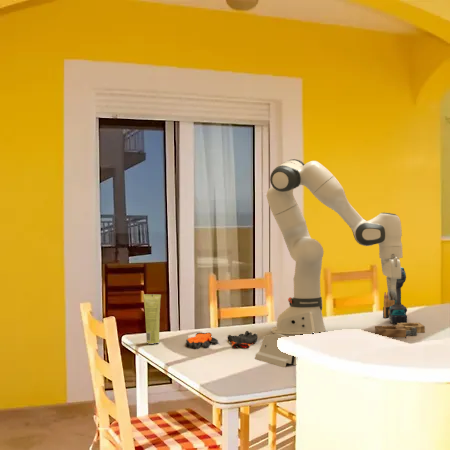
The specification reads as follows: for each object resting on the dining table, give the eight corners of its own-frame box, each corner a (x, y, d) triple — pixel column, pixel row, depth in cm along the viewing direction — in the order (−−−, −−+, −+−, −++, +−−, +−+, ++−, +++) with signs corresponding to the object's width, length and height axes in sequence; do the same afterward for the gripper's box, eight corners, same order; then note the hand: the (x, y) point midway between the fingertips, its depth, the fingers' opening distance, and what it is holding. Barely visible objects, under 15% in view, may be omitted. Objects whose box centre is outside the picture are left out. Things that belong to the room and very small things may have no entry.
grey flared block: (254, 358, 213) (261, 329, 215) (264, 361, 215) (271, 332, 217) (284, 367, 199) (292, 336, 201) (295, 370, 201) (302, 339, 203)
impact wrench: (401, 318, 285) (399, 263, 285) (411, 326, 263) (409, 267, 262) (384, 318, 286) (382, 264, 286) (392, 326, 263) (390, 267, 263)
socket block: (379, 338, 240) (379, 330, 240) (375, 333, 250) (374, 326, 250) (406, 337, 240) (405, 329, 240) (400, 332, 250) (400, 325, 249)
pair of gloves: (181, 350, 233) (180, 341, 233) (193, 337, 257) (193, 329, 257) (254, 349, 229) (253, 340, 229) (259, 337, 253) (259, 328, 253)
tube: (158, 341, 248) (156, 293, 248) (162, 344, 244) (160, 294, 244) (144, 343, 246) (143, 294, 246) (148, 345, 241) (147, 295, 241)
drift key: (394, 335, 243) (394, 328, 243) (392, 334, 247) (392, 327, 247) (416, 335, 242) (416, 328, 242) (414, 333, 246) (414, 326, 246)
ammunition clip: (386, 318, 285) (385, 292, 285) (383, 318, 287) (382, 292, 287) (401, 315, 291) (401, 290, 291) (398, 315, 293) (397, 290, 293)
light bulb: (390, 300, 244) (387, 277, 244) (387, 299, 247) (385, 277, 247) (398, 299, 244) (395, 276, 244) (395, 298, 247) (392, 276, 247)
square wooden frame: (401, 333, 249) (401, 326, 249) (397, 329, 258) (396, 323, 258) (424, 332, 248) (424, 326, 248) (419, 328, 257) (419, 322, 257)
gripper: (404, 254, 235) (406, 291, 235) (394, 251, 255) (395, 285, 255) (387, 255, 235) (389, 291, 236) (378, 252, 256) (379, 286, 256)
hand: (392, 288), depth 246 cm, fingers closed on light bulb, 3 cm apart
